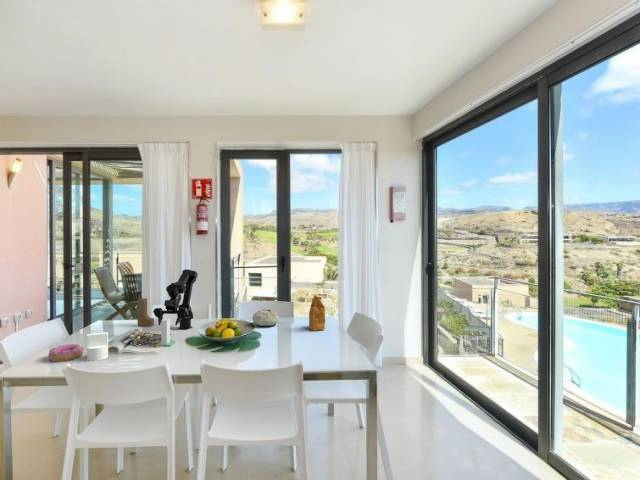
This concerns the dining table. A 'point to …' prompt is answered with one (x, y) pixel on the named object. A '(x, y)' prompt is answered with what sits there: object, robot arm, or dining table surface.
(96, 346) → the cylinder with rectangular tab
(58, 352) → the donut
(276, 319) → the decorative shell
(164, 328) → the column on green base
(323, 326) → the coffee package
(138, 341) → the plate
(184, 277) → the robot arm
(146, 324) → the brown boot
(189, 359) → the dining table surface
